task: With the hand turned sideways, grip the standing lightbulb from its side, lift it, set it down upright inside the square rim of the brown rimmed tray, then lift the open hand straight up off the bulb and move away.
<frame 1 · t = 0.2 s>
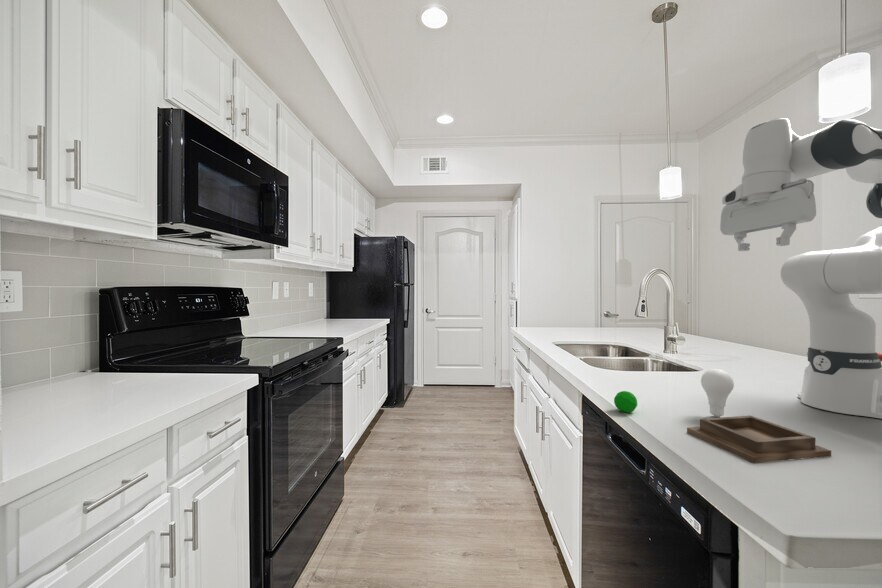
hand: (762, 248, 90), 39 cm above the countertop, tool pointing down, fingers open, 8 cm apart
lightbulb: (716, 418, 87), on the countertop
polyhedron: (625, 412, 91), on the countertop
brown rimmed tray: (753, 443, 73), on the countertop
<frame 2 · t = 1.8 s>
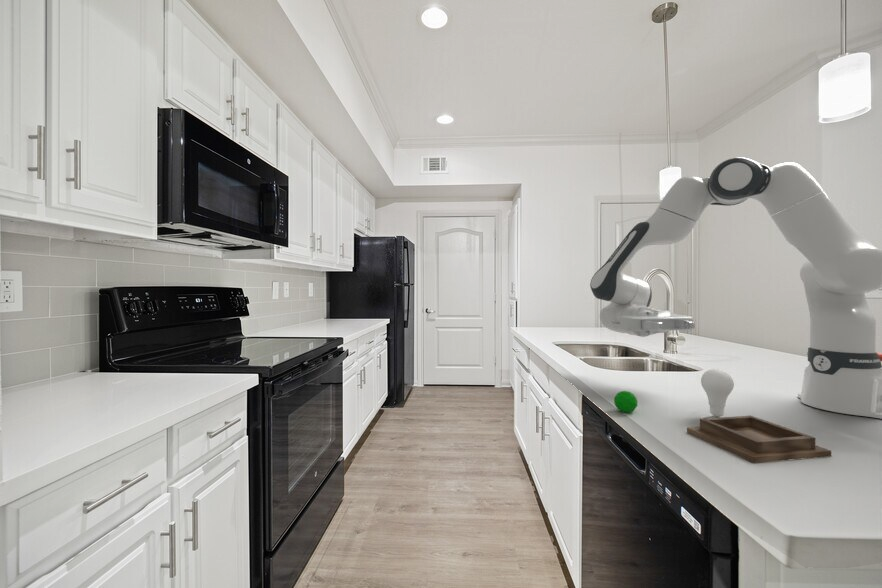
hand: (676, 325, 99), 20 cm above the countertop, tool horizontal, fingers open, 8 cm apart
nothing on the countertop moved.
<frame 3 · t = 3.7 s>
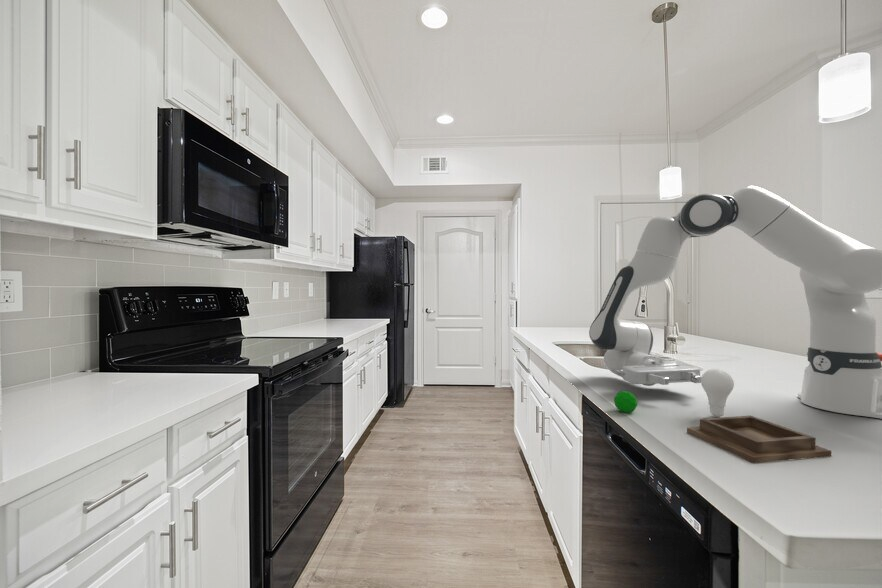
hand: (682, 380, 97), 6 cm above the countertop, tool horizontal, fingers open, 8 cm apart
nothing on the countertop moved.
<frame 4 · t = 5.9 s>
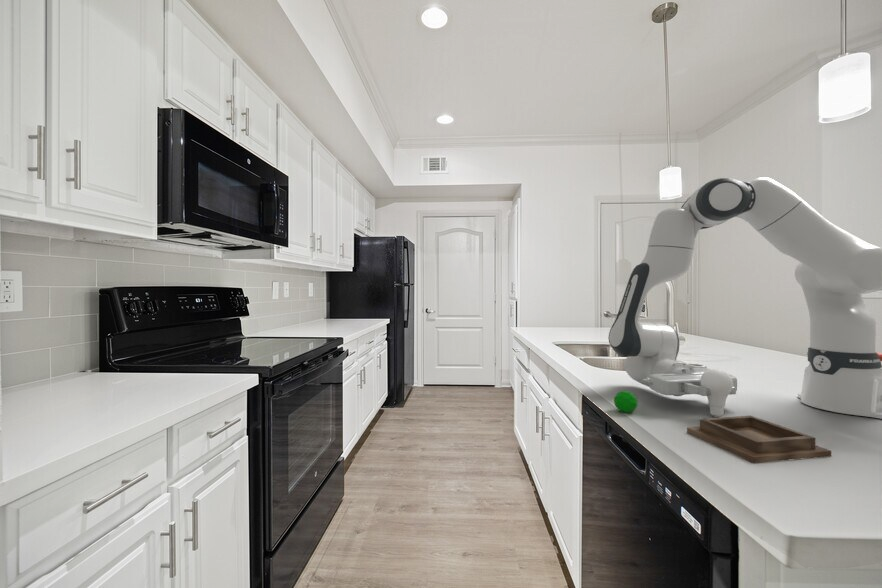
hand: (720, 391, 86), 6 cm above the countertop, tool horizontal, fingers closed on lightbulb, 5 cm apart
lightbulb: (716, 417, 87), on the countertop, touching gripper
everything else where it was.
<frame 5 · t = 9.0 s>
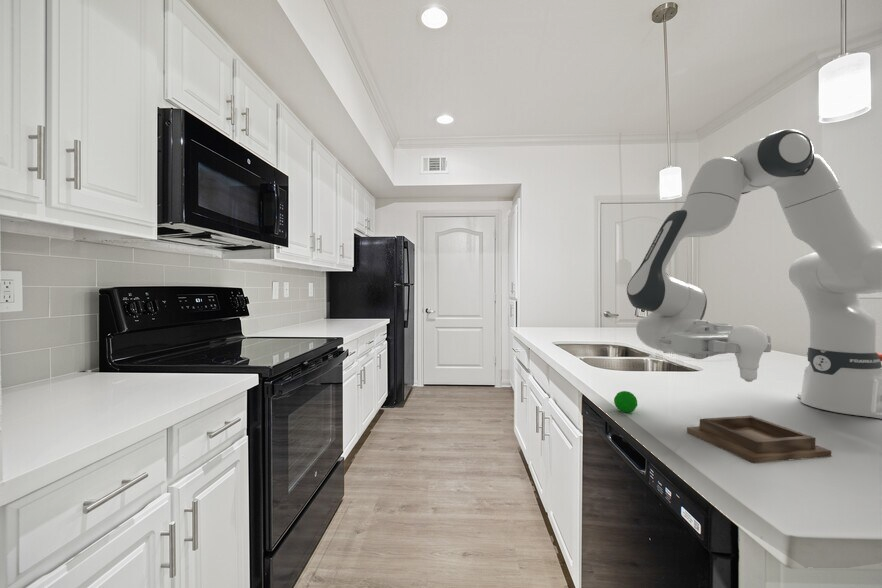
hand: (753, 348, 73), 18 cm above the countertop, tool horizontal, fingers closed on lightbulb, 5 cm apart
lightbulb: (748, 382, 74), point 11 cm above the countertop, touching gripper
everything else where it was.
when the fingers open (8 cm above the countertop, at t = 12.1 s): lightbulb stays where it is, resting on brown rimmed tray.
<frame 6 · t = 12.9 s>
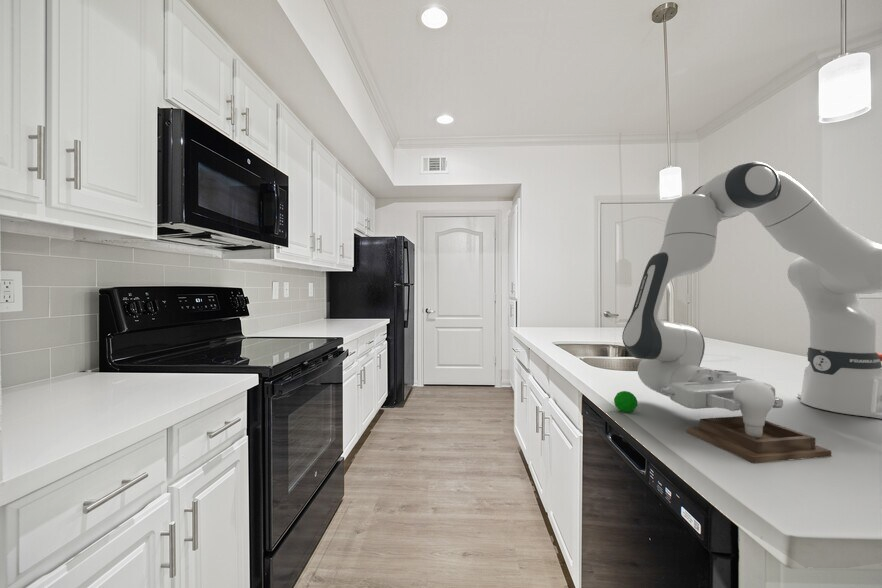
hand: (758, 405, 72), 8 cm above the countertop, tool horizontal, fingers open, 8 cm apart
lightbulb: (753, 439, 72), point 1 cm above the countertop, touching brown rimmed tray
everything else where it was.
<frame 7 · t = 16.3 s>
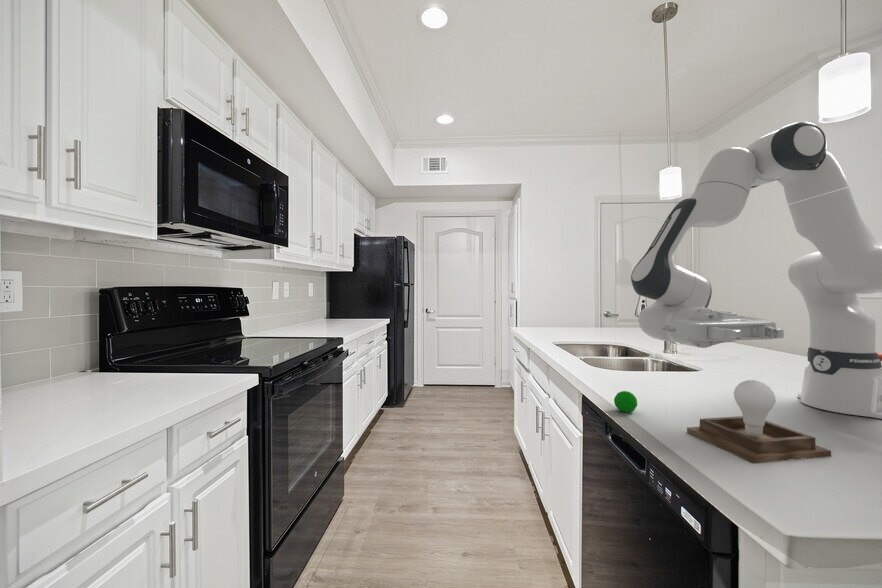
hand: (759, 334, 71), 21 cm above the countertop, tool horizontal, fingers open, 8 cm apart
nothing on the countertop moved.
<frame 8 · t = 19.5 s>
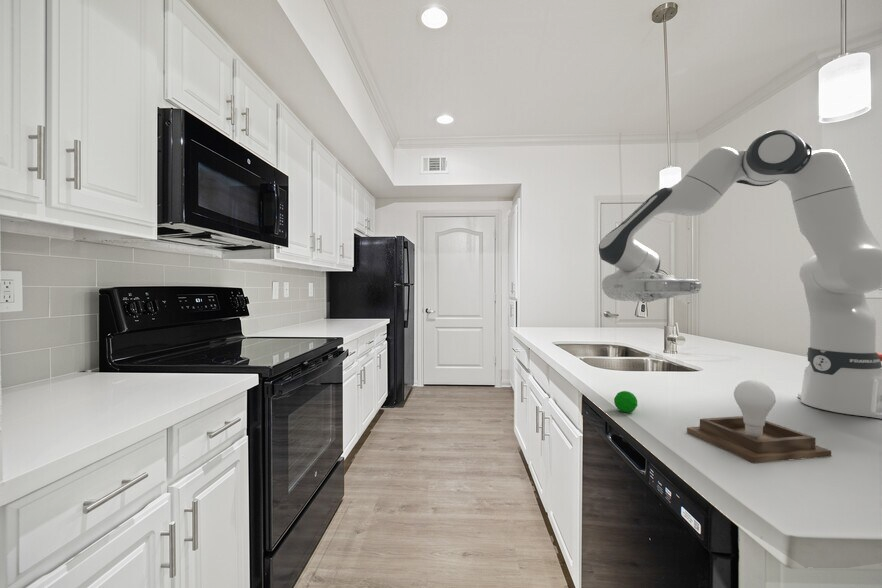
hand: (682, 286, 95), 30 cm above the countertop, tool horizontal, fingers open, 8 cm apart
nothing on the countertop moved.
at the end: lightbulb 0.1 cm off-centre on the brown rimmed tray, point 0.8 cm above the brown rimmed tray's base; lightbulb tilted 0°; the gripper is holding nothing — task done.
